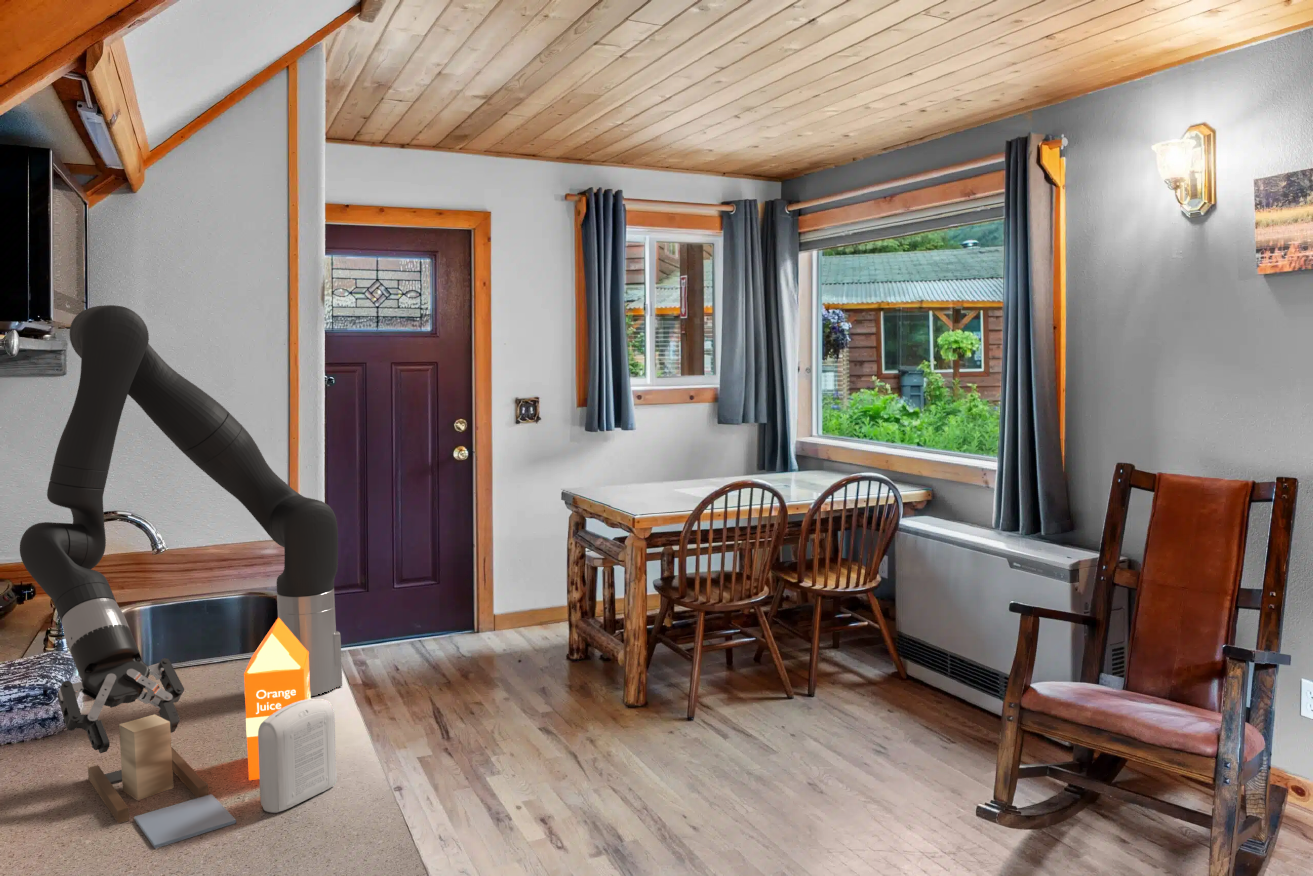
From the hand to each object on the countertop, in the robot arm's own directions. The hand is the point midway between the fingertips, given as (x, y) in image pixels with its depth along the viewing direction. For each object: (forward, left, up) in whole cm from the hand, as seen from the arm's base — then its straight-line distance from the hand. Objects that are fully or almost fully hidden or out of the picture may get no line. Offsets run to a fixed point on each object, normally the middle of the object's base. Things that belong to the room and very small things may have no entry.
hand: (140, 739), depth 125 cm
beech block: (0, +1, -7) cm, 7 cm away
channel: (0, 0, -7) cm, 7 cm away
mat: (-1, +14, -7) cm, 15 cm away
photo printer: (-14, +17, -7) cm, 23 cm away
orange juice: (-16, +5, -7) cm, 18 cm away
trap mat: (0, -6, -7) cm, 9 cm away
